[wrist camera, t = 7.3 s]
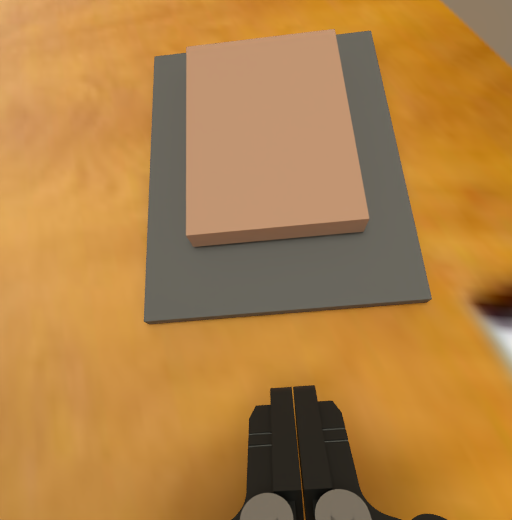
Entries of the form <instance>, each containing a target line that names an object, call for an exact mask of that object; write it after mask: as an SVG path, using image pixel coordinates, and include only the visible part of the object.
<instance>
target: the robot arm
mask: <svg viewBox="0 0 512 520" xmlns="http://www.w3.org/2000/svg"><path fill="white" fill-rule="evenodd" d="M293 390H294V403H295V415H296V427H297V438H298V448H299V458H300V468H301V477H302V487H303V497H304V507H305V517H306V520H401V519H398V518H394V517H391V516H388V515H385V514H383V513H381V512H379V511H378V510H376V509H375V508H374V507H372V506H371V505H370V504H369V503H368V502H367V500H366V499H365V498H364V496H363V494H362V492H361V490H360V487H359V483H358V479H357V475H356V470H355V466H354V462H353V458H352V454H351V450H350V446H349V442H348V437H347V433H346V430H345V425H344V421H343V417H342V413H341V411H340V410H339V409H338V408H337V406H336V405H335V404H334V402H333V401H320V402H317V396H316V390H315V386H314V385H312V386H297V387H293ZM270 396H271V405H261V406H256V407H255V409H254V411H253V413H252V414H251V416H250V418H249V440H248V467H247V493H246V499H245V502H244V505H243V507H242V508H241V510H240V512H239V513H238V514H237V515H236V516H235V517H234V518H233V519H232V520H304V516H303V503H302V491H301V480H300V470H299V460H298V449H297V439H296V429H295V419H294V408H293V398H292V388H291V387H284V388H271V389H270ZM412 520H447V519H445V518H443V517H440V516H438V515H434V514H421V515H418V516H416V517H415V518H413V519H412Z"/></svg>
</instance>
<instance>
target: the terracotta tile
mask: <svg viewBox="0 0 512 520" xmlns="http://www.w3.org/2000/svg"><path fill="white" fill-rule="evenodd" d="M368 221H369V214H368V208H367V203H366V197H365V192H364V187H363V181H362V176H361V170H360V165H359V159H358V154H357V148H356V143H355V137H354V132H353V126H352V121H351V115H350V110H349V105H348V99H347V94H346V88H345V83H344V77H343V72H342V66H341V61H340V55H339V50H338V44H337V39H336V33H335V29H331V30H323V31H314V32H306V33H298V34H289V35H281V36H273V37H265V38H256V39H248V40H240V41H232V42H223V43H215V44H207V45H199V46H190V47H186V236H187V238H188V239H189V241H190V242H191V244H192V246H193V247H199V246H210V245H221V244H232V243H243V242H254V241H265V240H276V239H287V238H298V237H310V236H321V235H332V234H343V233H354V232H364V230H365V227H366V225H367V223H368Z"/></svg>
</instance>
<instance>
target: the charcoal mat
mask: <svg viewBox="0 0 512 520" xmlns="http://www.w3.org/2000/svg"><path fill="white" fill-rule="evenodd" d="M336 39H337V44H338V50H339V55H340V61H341V66H342V72H343V77H344V83H345V88H346V94H347V99H348V105H349V110H350V115H351V121H352V126H353V132H354V137H355V143H356V148H357V154H358V159H359V165H360V170H361V176H362V181H363V187H364V192H365V197H366V203H367V208H368V214H369V221H368V223H367V225H366V227H365V230H364V232H354V233H343V234H332V235H321V236H310V237H298V238H287V239H276V240H265V241H254V242H243V243H232V244H221V245H210V246H199V247H193V246H192V244H191V242H190V241H189V239H188V238H187V236H186V53H181V54H173V55H164V56H156V57H155V60H154V85H153V109H152V134H151V159H150V183H149V208H148V233H147V258H146V282H145V307H144V322H146V323H148V324H157V323H170V322H182V321H195V320H208V319H220V318H233V317H246V316H259V315H271V314H284V313H297V312H309V311H322V310H335V309H348V308H360V307H373V306H386V305H398V304H411V303H424V302H428V301H429V300H431V299H432V298H431V293H430V289H429V284H428V280H427V276H426V271H425V267H424V262H423V258H422V254H421V249H420V245H419V241H418V236H417V232H416V227H415V223H414V219H413V214H412V210H411V205H410V201H409V197H408V192H407V188H406V183H405V179H404V175H403V170H402V166H401V161H400V157H399V153H398V148H397V144H396V139H395V135H394V131H393V126H392V122H391V117H390V113H389V109H388V104H387V100H386V95H385V91H384V87H383V82H382V78H381V74H380V69H379V65H378V60H377V56H376V52H375V47H374V43H373V38H372V34H371V31H364V32H356V33H347V34H339V35H336Z"/></svg>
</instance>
